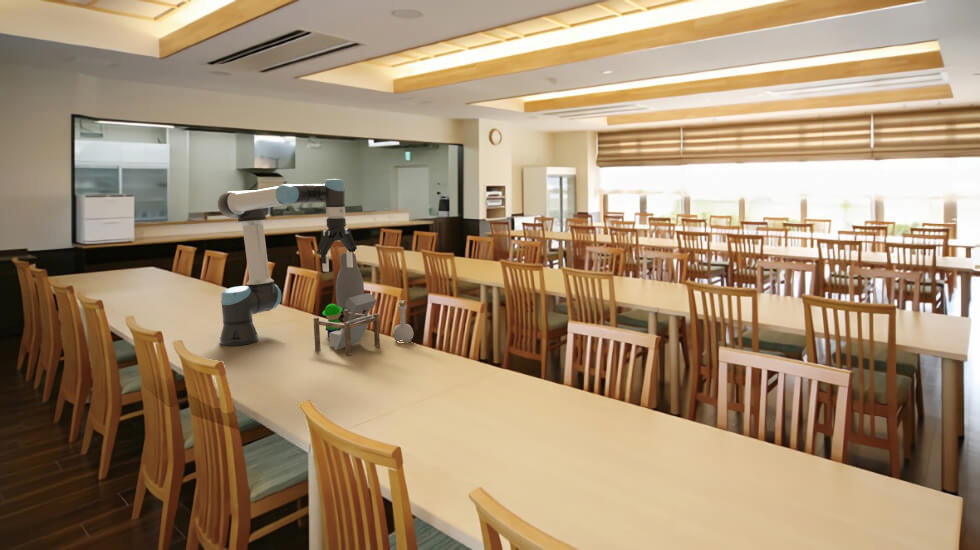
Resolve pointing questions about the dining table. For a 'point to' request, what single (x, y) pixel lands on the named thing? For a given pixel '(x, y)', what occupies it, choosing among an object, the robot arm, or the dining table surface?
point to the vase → (348, 283)
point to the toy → (333, 316)
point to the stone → (334, 338)
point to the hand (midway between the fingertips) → (338, 269)
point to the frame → (347, 329)
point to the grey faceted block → (355, 306)
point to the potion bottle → (403, 326)
